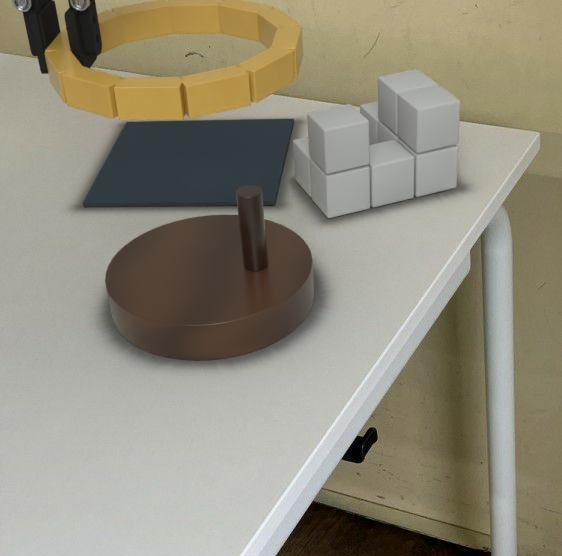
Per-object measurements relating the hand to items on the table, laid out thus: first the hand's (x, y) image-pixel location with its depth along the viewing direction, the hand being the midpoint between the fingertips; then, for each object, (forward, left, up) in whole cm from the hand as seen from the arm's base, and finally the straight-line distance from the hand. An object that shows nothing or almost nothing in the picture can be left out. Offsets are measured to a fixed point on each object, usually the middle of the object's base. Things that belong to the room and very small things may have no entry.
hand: (69, 64), depth 66 cm
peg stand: (+8, -1, -18) cm, 20 cm away
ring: (+7, 0, 0) cm, 7 cm away
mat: (+2, +22, -18) cm, 29 cm away
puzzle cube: (+18, +19, -18) cm, 32 cm away
